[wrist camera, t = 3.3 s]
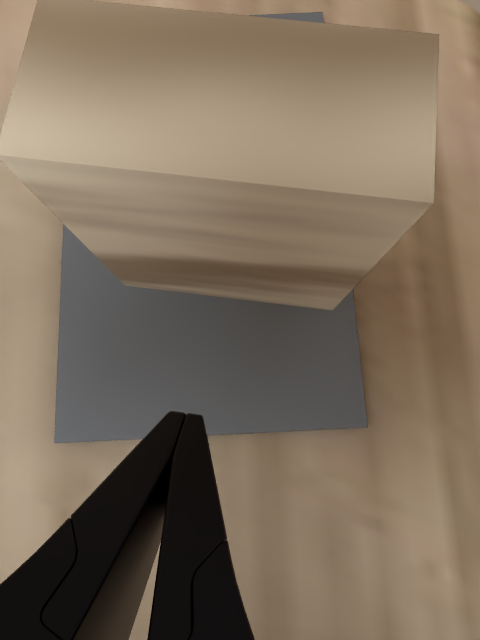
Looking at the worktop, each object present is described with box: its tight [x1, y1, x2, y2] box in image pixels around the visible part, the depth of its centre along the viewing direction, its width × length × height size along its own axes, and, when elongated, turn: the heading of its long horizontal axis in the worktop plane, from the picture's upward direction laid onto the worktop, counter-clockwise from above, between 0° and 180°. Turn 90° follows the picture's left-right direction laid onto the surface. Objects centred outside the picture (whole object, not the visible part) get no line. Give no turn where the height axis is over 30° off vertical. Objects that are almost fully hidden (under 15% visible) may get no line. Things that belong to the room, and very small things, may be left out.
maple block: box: [0, 0, 439, 310], centre depth 15 cm, size 5×10×10 cm, turn 83°
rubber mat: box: [54, 12, 368, 443], centre depth 21 cm, size 22×14×1 cm, turn 3°
